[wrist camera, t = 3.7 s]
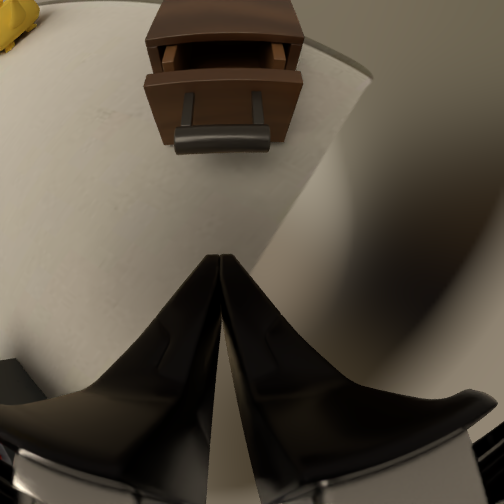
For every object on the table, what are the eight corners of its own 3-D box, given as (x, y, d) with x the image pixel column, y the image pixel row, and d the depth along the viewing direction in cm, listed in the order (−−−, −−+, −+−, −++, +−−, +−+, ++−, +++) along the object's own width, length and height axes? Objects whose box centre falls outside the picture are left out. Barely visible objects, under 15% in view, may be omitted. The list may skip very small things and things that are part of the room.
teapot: (25, 21, 26) (9, -12, 14) (62, 15, 26) (45, -29, 13) (-16, 61, 23) (-37, 30, 11) (10, 62, 23) (-17, 20, 10)
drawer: (289, 191, 20) (315, 139, 13) (158, 195, 19) (129, 144, 12) (270, 51, 23) (280, 0, 16) (180, 52, 22) (173, 2, 15)
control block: (91, 441, 15) (43, 484, 7) (66, 475, 14) (25, 512, 6) (15, 357, 16) (-46, 365, 8) (-2, 400, 14) (-53, 414, 7)
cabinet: (284, 110, 22) (305, 37, 14) (164, 113, 21) (144, 40, 13) (271, 33, 25) (280, -23, 16) (181, 35, 24) (175, -22, 15)
